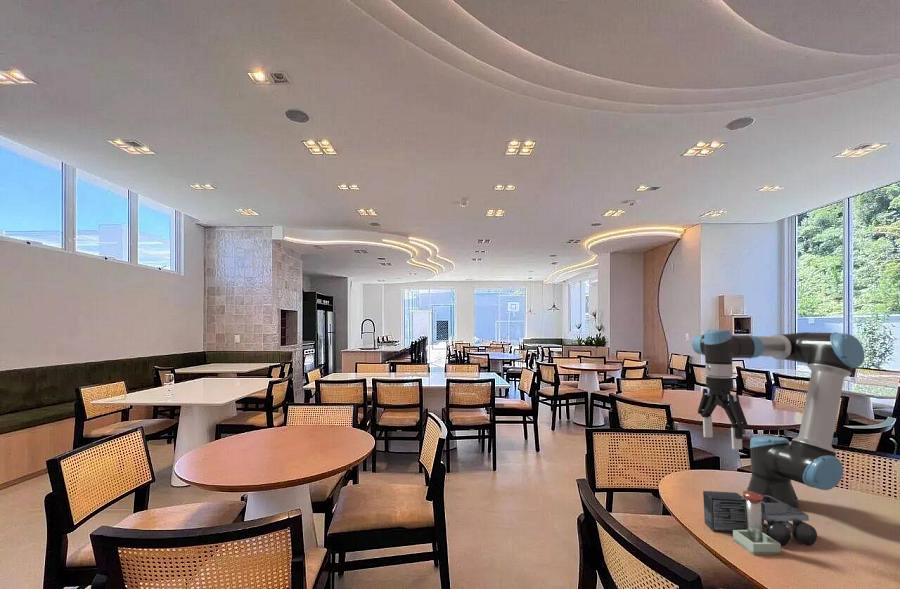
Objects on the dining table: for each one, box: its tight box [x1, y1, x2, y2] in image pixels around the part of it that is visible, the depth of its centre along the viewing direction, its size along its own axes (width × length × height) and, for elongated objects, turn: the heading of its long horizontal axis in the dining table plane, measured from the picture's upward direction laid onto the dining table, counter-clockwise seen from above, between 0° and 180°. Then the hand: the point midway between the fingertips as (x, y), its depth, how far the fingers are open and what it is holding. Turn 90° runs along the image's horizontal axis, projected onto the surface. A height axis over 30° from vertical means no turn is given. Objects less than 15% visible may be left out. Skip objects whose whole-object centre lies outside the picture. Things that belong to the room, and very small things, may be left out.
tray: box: [732, 530, 782, 556], centre depth 121 cm, size 8×8×3 cm
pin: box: [742, 490, 764, 543], centre depth 121 cm, size 5×5×14 cm
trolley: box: [761, 495, 818, 547], centre depth 128 cm, size 14×12×11 cm
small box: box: [702, 490, 747, 534], centre depth 132 cm, size 11×6×10 cm, turn 81°
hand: (722, 442), depth 134 cm, fingers open, 13 cm apart
